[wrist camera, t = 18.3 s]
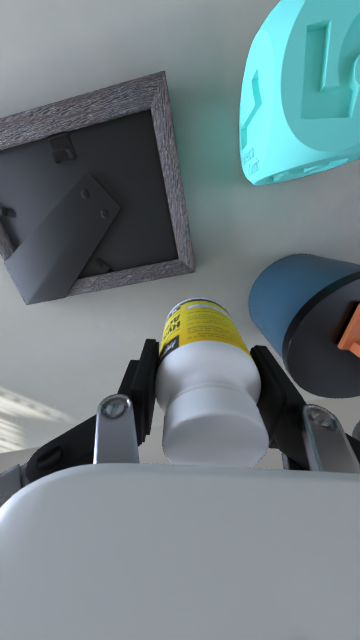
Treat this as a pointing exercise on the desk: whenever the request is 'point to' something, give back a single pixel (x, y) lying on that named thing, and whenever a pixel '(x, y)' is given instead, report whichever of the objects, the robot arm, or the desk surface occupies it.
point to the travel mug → (310, 320)
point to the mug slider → (352, 334)
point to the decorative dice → (301, 91)
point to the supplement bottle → (208, 390)
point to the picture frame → (93, 193)
